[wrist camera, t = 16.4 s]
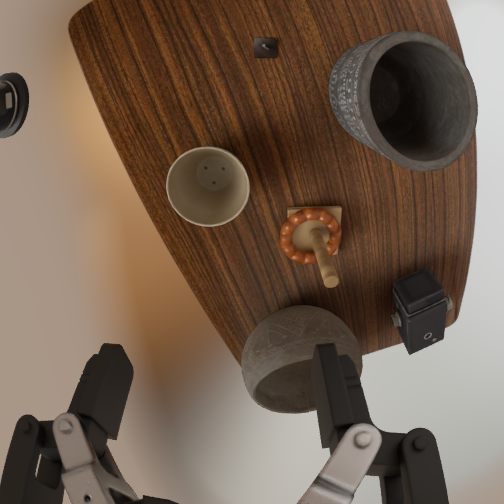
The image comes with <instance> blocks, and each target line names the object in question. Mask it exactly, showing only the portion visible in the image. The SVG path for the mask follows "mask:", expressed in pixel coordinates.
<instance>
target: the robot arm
mask: <svg viewBox="0 0 504 504" xmlns="http://www.w3.org/2000/svg"><path fill="white" fill-rule="evenodd" d="M18 111H19V93H18V89H17V87H16V85H15V84H14V83H13V82H12V81H9V80H4V81H0V133H1V132H4V131H6V130H8V129H9V128H10V127H11V126H12V125H13V124H14V122H15V120H16V118H17V115H18ZM311 378H312V385H313V391H314V397H315V403H316V410H317V416H318V423H319V429H320V436H321V443H322V448H330V455H331V457H330V458H329V460H328V461H327V463H326V464H325V466H324V467H323V469H322V470H321V471H320V473H319V474H318V476H317V477H316V479H315V480H314V481H313V483H312V484H311V486H310V487H309V488H308V490H307V491H306V492H305V494H304V495H303V496H302V498H301V499H300V500H299V502H298V503H297V504H351V502H352V500H353V498H354V493H355V491H356V489H357V488H358V486H359V484H360V483H361V481H362V479H363V478H364V476H365V475H370V476H379V479H380V487H381V496H382V504H449V502H448V495H447V489H446V484H445V479H444V474H443V470H442V464H441V460H440V456H439V451H438V447H437V443H436V439H435V437H434V435H433V434H432V433H431V432H430V431H429V430H427V429H425V428H416V429H413V430H411V431H409V432H408V433H407V434H405V433H390V432H385V431H382V430H380V429H378V428H377V427H376V426H375V425H374V424H373V422H372V421H371V418H370V415H369V411H368V407H367V404H366V400H365V396H364V393H363V389H362V387H361V382H360V378H359V375H358V371H357V368H356V364H355V363H354V362H353V360H352V359H351V358H350V357H349V356H348V354H346V355H338V352H337V349H336V345H335V343H324V344H316V345H315V348H314V354H313V360H312V365H311ZM132 380H133V366H132V364H131V362H130V360H129V359H128V357H127V355H126V353H125V351H124V349H123V347H122V346H121V345H120V344H109V343H104V344H103V345H102V346H101V349H100V351H99V354H94V355H93V356H92V357H91V358H90V359H89V361H88V362H87V363H86V366H85V368H84V370H83V374H82V375H81V378H80V382H79V383H78V385H77V388H76V390H75V393H74V396H73V398H72V401H71V404H70V406H69V409H68V411H67V412H66V413H63V414H60V415H59V416H58V417H57V418H56V419H55V420H53V421H52V420H51V421H38V420H37V419H36V418H35V417H34V416H32V415H24V416H22V417H21V418H20V419H19V420H18V422H17V424H16V427H15V430H14V433H13V436H12V440H11V444H10V447H9V450H8V454H7V458H6V462H5V466H4V470H3V474H2V479H1V484H0V504H62V502H63V495H64V488H65V489H66V491H67V494H68V496H69V499H70V501H71V503H72V504H178V503H176V502H173V501H170V500H167V499H161V498H155V497H150V496H145V495H143V499H139V498H138V497H137V495H136V493H135V492H134V491H133V489H132V488H131V487H130V485H129V484H128V483H127V482H126V481H125V480H124V478H123V476H122V474H121V472H120V471H119V469H118V467H117V465H116V463H115V461H114V459H113V456H112V455H111V452H110V450H109V448H108V446H107V445H106V443H107V439H113V440H117V436H118V432H119V427H120V423H121V420H122V415H123V412H124V408H125V405H126V401H127V397H128V393H129V390H130V387H131V383H132ZM40 454H41V460H40V464H39V468H38V473H37V477H36V475H35V473H36V468H37V464H38V459H39V455H40Z"/></svg>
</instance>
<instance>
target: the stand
mask: <svg viewBox="0 0 504 504" xmlns="http://www.w3.org/2000/svg"><path fill="white" fill-rule="evenodd" d="M303 208H322V209H324V210H326V211H327V212H329V213H331V214H333V215H334V216H335V217H336V219H337V221H338V223H339V225H340V224H341V212H342V208H341V206H310V207H288V208H287V209H288V217H289V216H290V215H292V214H294V213H296V212H297V211H299V210H301V209H303ZM329 233H330V231H329V230H328V228H327V226H326V225H325V224H324V223H322V222H320V221H318V220H312V221H306V222H304V223H302V224H300V225H298V226H297V228H296V229H295V231H294V232H293V235H292V242H293V244H294V245H295V247H296V248H297V249H299V250H301V251H303V252H315V255H316V259H317V262H318V265H319V268H320V271H321V275H322V278H323V281H324V285H325V286H326V287H328V288H333V287H335V286H336V285H337V284H338V283H339V278H338V276H337V273H336V270H335V268H334V265H333V263H332V260H331V257H330V255H329V252H328V250H327V247H326V243H327V242H328V240H329ZM333 254H338V248H337V249H336V251H335V252H334V253H333Z"/></svg>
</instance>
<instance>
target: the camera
mask: <svg viewBox="0 0 504 504" xmlns="http://www.w3.org/2000/svg"><path fill="white" fill-rule="evenodd" d="M393 284H394V287H393V296H394V303H395V305H394V308H395V314H392V315H390V317H391V321H392V324H393V326H394V327H397V329H398V331H399V334H400V336H401V338H402V340H403V342H404V345H405V347H406V349H407V351H408V353H409V355H411V354H413V353H415V352H417V351H419V350H421V349H423V348H426V347H428V346H430V345H432V344H434V343H436V342H438V341H440V340H443V338H444V331H445V321H446V311H448V310H450V309H452V307H453V304H452V301H451V299H450V297H449V296H448V295H447V296H445V297H444V289H443V288H442V286H441V285H440V284H439V282H438V281H437V280H436V278H435V277H434V276H433V274H432V273H431V272H430V270H429V268H424V269H421V270H419V271H416V272H414V273H412V274H409V275H407V276H405V277H402V278H400V279H398V280H395V281H394V283H393Z"/></svg>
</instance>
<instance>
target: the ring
mask: <svg viewBox="0 0 504 504" xmlns="http://www.w3.org/2000/svg"><path fill="white" fill-rule="evenodd" d="M312 220H318V221H320V222H322V223H324V224H325V225H326V226H327V228H328V230H329V231H330V233H329V240H328V242H327V243H326V247H327V250H328V252H329V255H330V257H331V256H332V255H333V253H334V252H335V251H336V249H337V248H338V247H339V245H340V241H341V233H342V229H341V227H340V225H339V223H338V221H337V219H336V217H335V216H334V215H333V214H331V213H329V212H327V211H326V210H324V209H322V208H303V209H301V210H299V211H297V212H296V213H294V214H292V215H290V216H289V217H288V218H287V220H286V222H285V223H284V225H283V226H282V228H281V230H280V245H281V247H282V249H283V250H284V252H285V253H286V255H287V256H288V257H289V258H290V259H292V260H294V261H296V262H299V263H301V264H317V263H318V262H317V259H316V255H315V252H303V251H301V250H299V249H297V248H296V247H295V245H294V244H293V242H292V235H293V232H294V231H295V229H296V228H297V226H298V225H300V224H302V223H304V222H306V221H312Z"/></svg>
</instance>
